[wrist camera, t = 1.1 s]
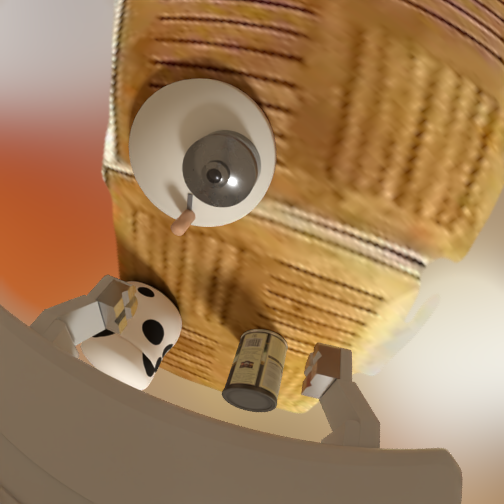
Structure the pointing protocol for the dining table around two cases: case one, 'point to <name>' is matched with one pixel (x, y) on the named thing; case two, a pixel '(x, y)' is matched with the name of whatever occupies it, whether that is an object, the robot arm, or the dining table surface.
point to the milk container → (137, 339)
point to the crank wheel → (184, 135)
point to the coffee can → (256, 371)
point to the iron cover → (221, 168)
